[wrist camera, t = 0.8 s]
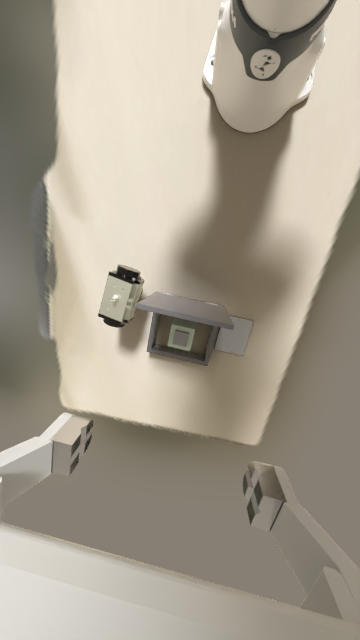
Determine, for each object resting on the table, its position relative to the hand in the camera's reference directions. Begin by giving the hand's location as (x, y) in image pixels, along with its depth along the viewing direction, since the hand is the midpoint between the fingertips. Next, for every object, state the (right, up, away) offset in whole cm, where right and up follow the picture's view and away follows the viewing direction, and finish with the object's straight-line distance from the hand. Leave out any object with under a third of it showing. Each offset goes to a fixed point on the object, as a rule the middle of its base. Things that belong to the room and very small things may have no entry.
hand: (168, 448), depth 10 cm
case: (+2, +5, +38) cm, 38 cm away
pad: (+13, +3, +37) cm, 39 cm away
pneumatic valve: (-10, +13, +37) cm, 40 cm away
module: (+2, +5, +38) cm, 38 cm away
